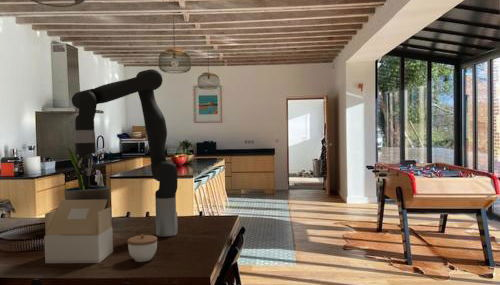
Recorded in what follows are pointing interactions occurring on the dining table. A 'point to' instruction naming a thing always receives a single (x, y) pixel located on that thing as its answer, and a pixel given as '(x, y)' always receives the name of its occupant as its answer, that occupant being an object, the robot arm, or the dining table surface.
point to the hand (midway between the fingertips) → (86, 185)
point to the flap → (76, 217)
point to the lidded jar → (142, 247)
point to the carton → (80, 242)
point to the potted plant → (86, 188)
